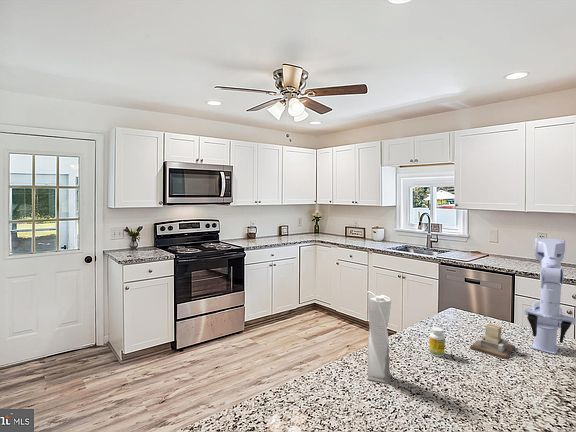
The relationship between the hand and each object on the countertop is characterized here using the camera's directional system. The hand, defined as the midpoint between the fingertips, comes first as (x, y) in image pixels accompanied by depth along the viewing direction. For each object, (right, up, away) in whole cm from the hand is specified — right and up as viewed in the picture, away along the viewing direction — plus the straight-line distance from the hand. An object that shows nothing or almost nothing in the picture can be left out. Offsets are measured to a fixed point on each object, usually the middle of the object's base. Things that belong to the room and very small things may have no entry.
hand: (547, 338), depth 127 cm
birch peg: (-12, -7, +13) cm, 19 cm away
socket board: (-12, -8, +14) cm, 20 cm away
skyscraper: (-63, -9, -9) cm, 64 cm away
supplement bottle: (-36, -9, +8) cm, 38 cm away
